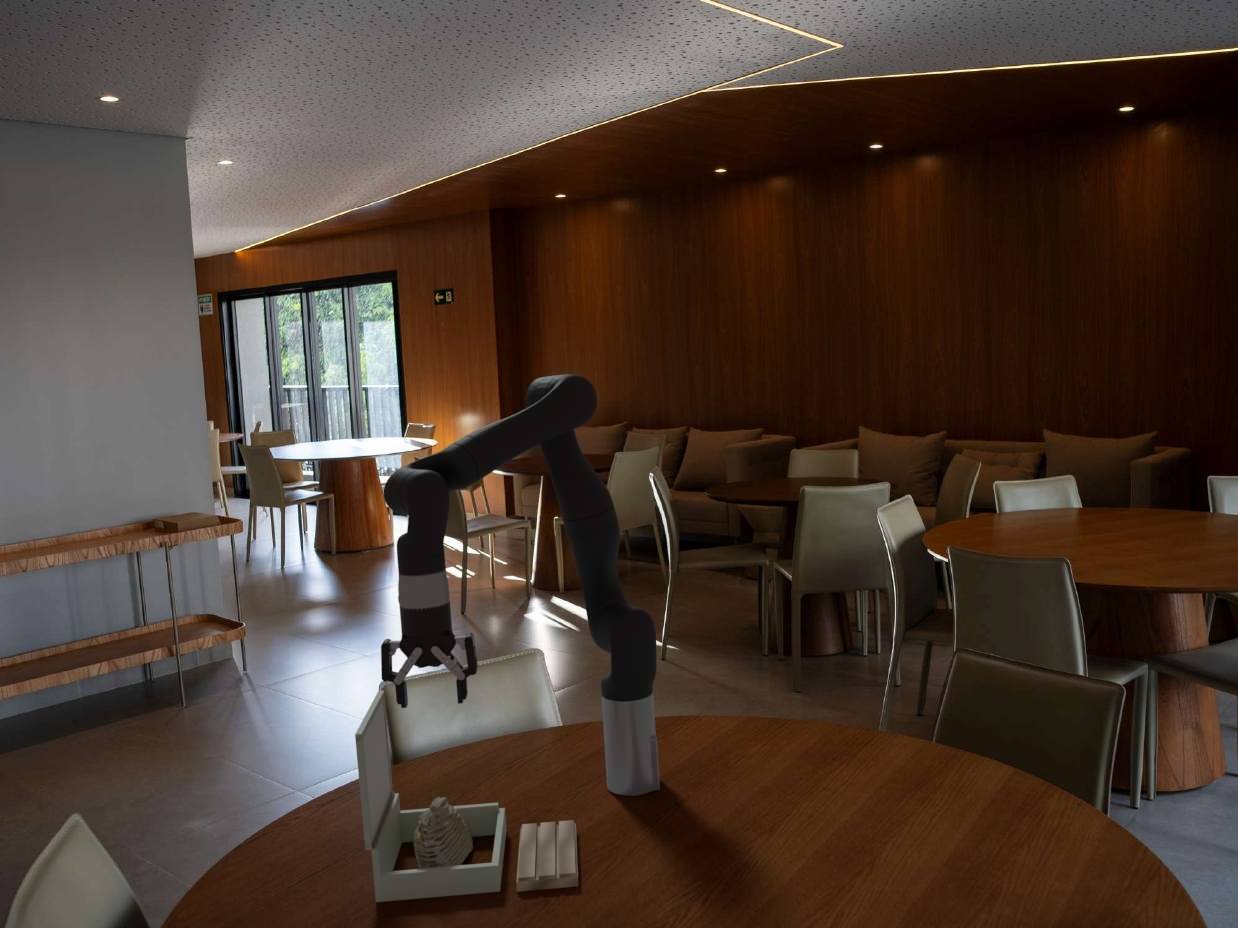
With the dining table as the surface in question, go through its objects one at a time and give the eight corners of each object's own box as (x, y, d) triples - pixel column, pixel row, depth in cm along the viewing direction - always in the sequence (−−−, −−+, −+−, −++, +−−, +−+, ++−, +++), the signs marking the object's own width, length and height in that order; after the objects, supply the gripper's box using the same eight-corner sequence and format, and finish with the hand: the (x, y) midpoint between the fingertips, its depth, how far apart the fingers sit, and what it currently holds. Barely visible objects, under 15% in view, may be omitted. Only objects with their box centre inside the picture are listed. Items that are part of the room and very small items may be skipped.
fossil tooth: (481, 851, 162) (443, 891, 147) (445, 846, 164) (403, 886, 149) (482, 780, 162) (443, 814, 147) (446, 776, 163) (404, 809, 149)
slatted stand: (576, 831, 164) (575, 819, 164) (578, 886, 147) (577, 872, 147) (521, 836, 163) (520, 824, 163) (517, 891, 146) (516, 877, 146)
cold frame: (506, 830, 166) (495, 681, 163) (500, 891, 147) (487, 723, 144) (391, 840, 165) (378, 690, 162) (370, 902, 146) (355, 734, 143)
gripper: (474, 591, 155) (481, 692, 157) (381, 597, 155) (389, 699, 156) (469, 602, 148) (477, 709, 150) (372, 609, 147) (381, 716, 149)
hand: (432, 704), depth 153 cm, fingers open, 8 cm apart
